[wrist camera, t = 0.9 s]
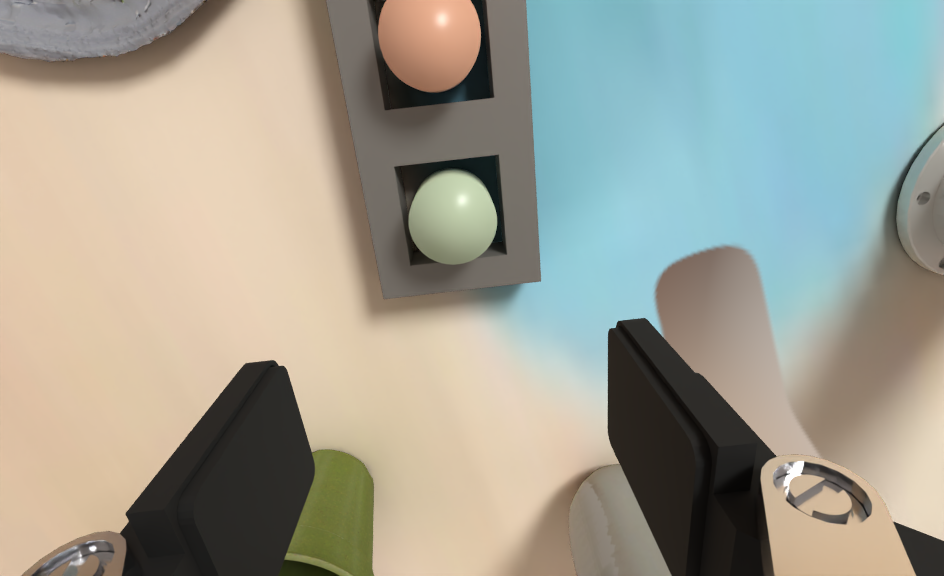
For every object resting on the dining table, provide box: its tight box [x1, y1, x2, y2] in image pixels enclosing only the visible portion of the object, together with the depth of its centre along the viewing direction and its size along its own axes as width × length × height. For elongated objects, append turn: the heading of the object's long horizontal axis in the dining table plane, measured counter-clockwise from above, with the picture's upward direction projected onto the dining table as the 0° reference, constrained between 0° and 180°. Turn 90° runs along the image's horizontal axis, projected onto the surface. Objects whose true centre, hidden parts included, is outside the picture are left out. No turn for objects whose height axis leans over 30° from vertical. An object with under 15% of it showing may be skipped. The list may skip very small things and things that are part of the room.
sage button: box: [408, 168, 497, 265], centre depth 27 cm, size 5×5×4 cm
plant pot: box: [278, 450, 374, 576], centre depth 33 cm, size 12×12×11 cm
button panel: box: [326, 0, 541, 299], centre depth 25 cm, size 10×28×3 cm, turn 6°
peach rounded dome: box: [378, 0, 481, 93], centre depth 24 cm, size 5×5×4 cm
